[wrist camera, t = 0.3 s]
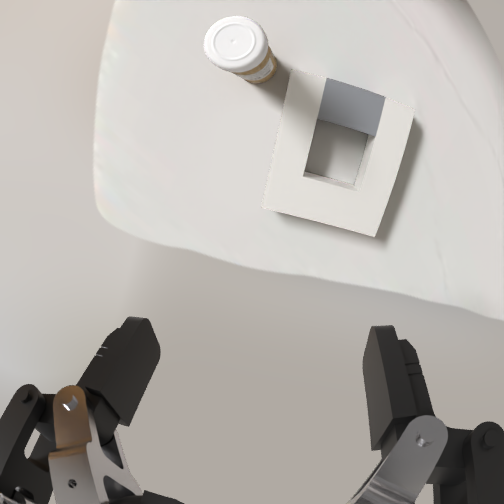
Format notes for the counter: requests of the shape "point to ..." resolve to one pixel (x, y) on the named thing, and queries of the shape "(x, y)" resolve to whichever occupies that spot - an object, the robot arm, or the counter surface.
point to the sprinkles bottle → (240, 49)
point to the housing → (326, 189)
